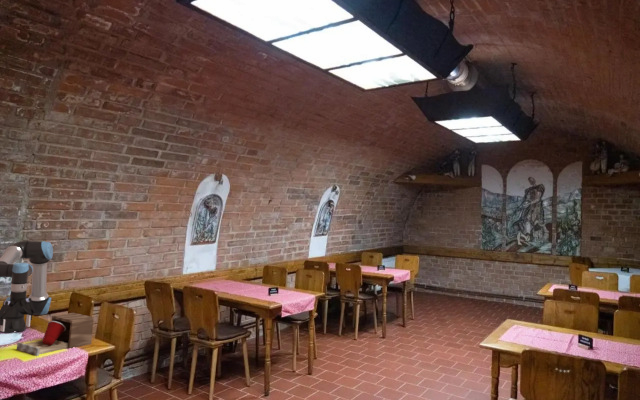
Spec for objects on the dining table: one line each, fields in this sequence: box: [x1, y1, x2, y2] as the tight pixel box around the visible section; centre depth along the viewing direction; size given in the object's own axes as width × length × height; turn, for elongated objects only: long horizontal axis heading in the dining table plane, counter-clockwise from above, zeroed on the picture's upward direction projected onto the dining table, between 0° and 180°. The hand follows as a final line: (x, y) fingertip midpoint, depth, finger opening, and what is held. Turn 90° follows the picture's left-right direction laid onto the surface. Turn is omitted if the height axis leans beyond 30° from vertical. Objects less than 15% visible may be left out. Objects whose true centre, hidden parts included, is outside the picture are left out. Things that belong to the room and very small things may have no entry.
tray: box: [16, 339, 69, 357], centre depth 270 cm, size 20×20×4 cm
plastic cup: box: [41, 320, 66, 345], centre depth 276 cm, size 11×11×12 cm
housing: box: [51, 312, 94, 349], centre depth 285 cm, size 20×14×17 cm
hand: (15, 328), depth 255 cm, fingers open, 13 cm apart
